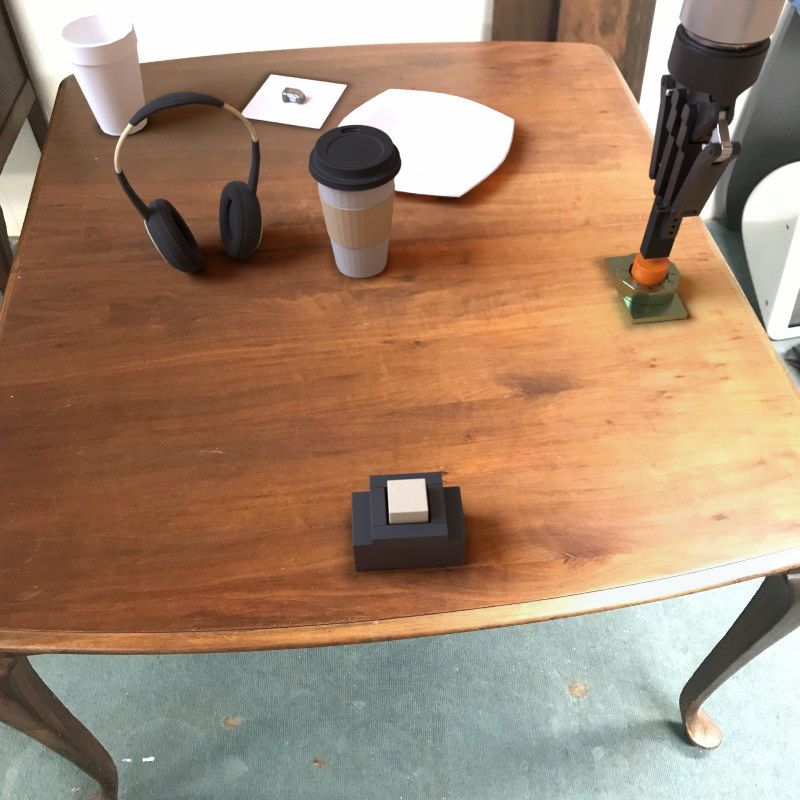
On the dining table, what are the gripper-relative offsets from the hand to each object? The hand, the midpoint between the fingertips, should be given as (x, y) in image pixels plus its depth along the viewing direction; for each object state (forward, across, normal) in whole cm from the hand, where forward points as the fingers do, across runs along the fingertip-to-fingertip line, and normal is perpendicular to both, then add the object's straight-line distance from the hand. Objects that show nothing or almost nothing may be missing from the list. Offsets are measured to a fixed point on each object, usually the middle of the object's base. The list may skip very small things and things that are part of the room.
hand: (654, 253), depth 81 cm
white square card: (+5, +45, +36) cm, 58 cm away
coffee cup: (+5, +9, +30) cm, 32 cm away
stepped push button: (+5, -28, +30) cm, 41 cm away
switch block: (+5, 0, 0) cm, 5 cm away
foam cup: (+5, +42, +60) cm, 74 cm away
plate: (+5, +30, +20) cm, 36 cm away
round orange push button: (+3, 0, 0) cm, 3 cm away
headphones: (+5, +12, +47) cm, 49 cm away
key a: (-1, -27, +30) cm, 41 cm away
